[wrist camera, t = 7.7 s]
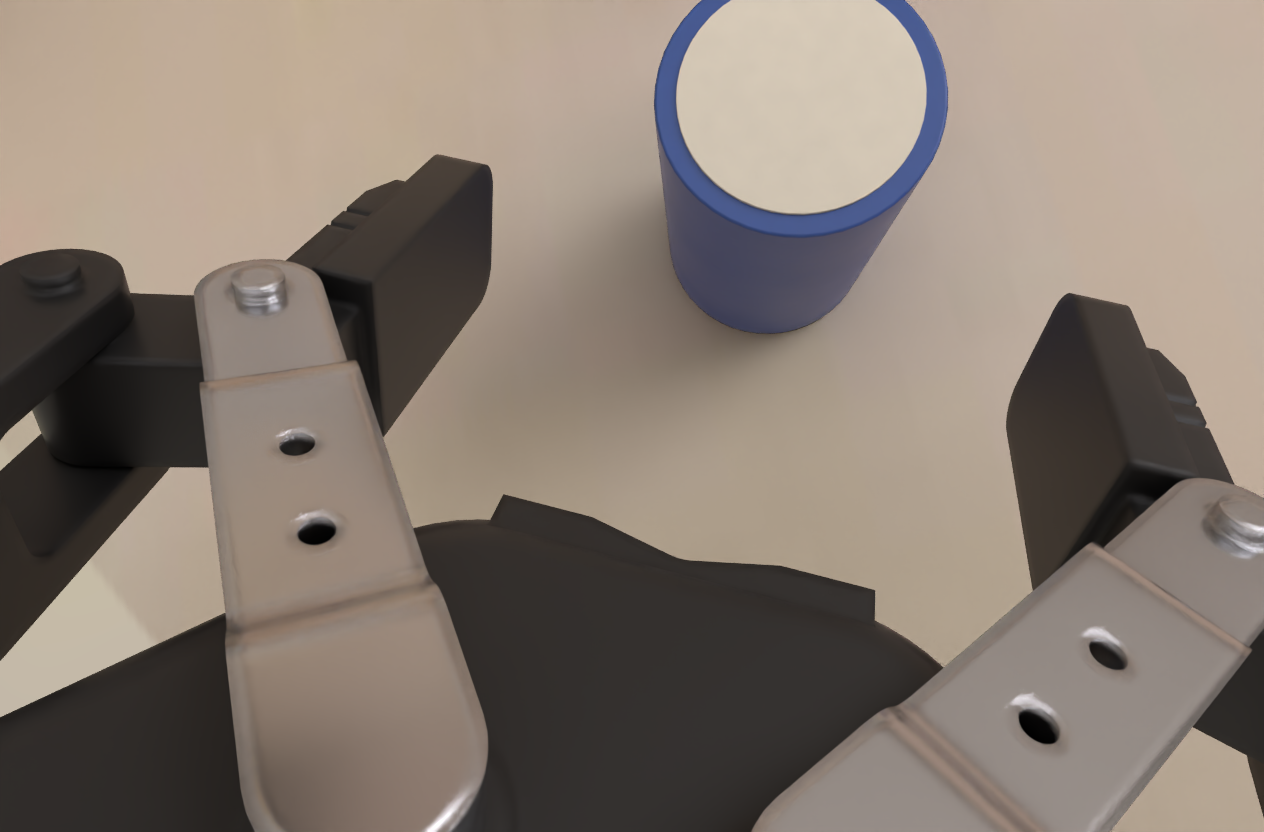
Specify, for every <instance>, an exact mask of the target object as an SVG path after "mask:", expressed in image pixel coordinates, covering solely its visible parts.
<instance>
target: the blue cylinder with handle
mask: <svg viewBox="0 0 1264 832" xmlns="http://www.w3.org/2000/svg"><path fill="white" fill-rule="evenodd" d="M654 110H655V122H656V131H657V139H658V148H659V157H660V165H661V174H662V183H663V192H664V200H665V209H666V218H667V227H668V235H669V244H670V253H671V258H672V262H673V266H674V269H675V272H676V275H677V277H678V279H679V281H680V283H681V285H682V287H683V289H684V290H685V291H686V293H687V294H688V295H689V297H690V298H691V299H692V300H693V301H694V303H695V304H696V305H697V306H698V307H699V308H700V309H702V310H703V311H704V312H705V313H707V314H708V315H709V316H711V317H712V318H714V319H716V320H717V321H719V322H721V323H723V324H725V325H727V326H730V327H732V328H735V329H739V330H742V331H747V332H753V333H767V334H771V333H782V332H787V331H791V330H795V329H798V328H801V327H804V326H807V325H809V324H811V323H813V322H815V321H816V320H818V319H820V318H821V317H823V316H824V315H826V314H827V313H829V312H830V311H831V310H832V309H833V308H834V307H835V306H837V305H838V304H839V303H840V302H841V300H842V299H843V298H844V297H845V296H846V294H847V293H848V292H849V290H850V288H851V287H852V285H853V284H854V282H855V281H856V279H857V278H858V276H859V274H860V273H861V271H862V270H863V268H864V267H865V265H866V263H867V262H868V260H869V259H870V257H871V256H872V254H873V253H874V251H875V249H876V248H877V246H878V245H879V243H880V242H881V240H882V239H883V237H884V235H885V234H886V232H887V231H888V229H889V228H890V226H891V224H892V223H893V221H894V220H895V218H896V217H897V215H898V214H899V212H900V210H901V209H902V207H903V206H904V204H905V203H906V201H907V200H908V198H909V196H910V195H911V193H912V192H913V190H914V189H915V187H916V185H917V184H918V182H919V181H920V179H921V178H922V176H923V175H924V173H925V171H926V170H927V168H928V167H929V165H930V164H931V162H932V160H933V158H934V156H935V154H936V151H937V149H938V147H939V145H940V142H941V138H942V135H943V132H944V128H945V123H946V117H947V110H948V87H947V79H946V72H945V68H944V65H943V61H942V57H941V54H940V52H939V49H938V47H937V45H936V42H935V40H934V38H933V36H932V34H931V33H930V31H929V29H928V28H927V26H926V25H925V23H924V21H923V20H922V19H921V18H920V16H919V15H918V14H917V13H916V12H915V10H914V9H913V8H912V7H911V6H910V5H909V4H908V3H907V2H906V1H905V0H702V1H700V2H699V3H698V4H697V5H696V6H695V7H694V8H693V9H692V10H691V11H690V13H689V14H688V15H687V16H686V17H685V18H684V19H683V21H682V22H681V23H680V25H679V26H678V28H677V29H676V31H675V32H674V34H673V35H672V37H671V39H670V41H669V43H668V45H667V47H666V49H665V51H664V54H663V57H662V60H661V63H660V66H659V69H658V74H657V79H656V84H655V96H654Z"/></svg>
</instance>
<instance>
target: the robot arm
mask: <svg viewBox="0 0 1264 832" xmlns="http://www.w3.org/2000/svg"><path fill="white" fill-rule="evenodd" d="M492 197H493V180H492V173H491V170H490V168H489V166H488V165H485V164H480V163H475V162H471V161H466V160H462V159H457V158H452V157H448V156H443V155H438V154H437V155H435V156H433V157H432V158H431V159H430V160H429V161H428V162H427V163H426V164H424V165H423V166H422V167H421V168H420V169H419V170H418V171H417V172H416V173H415V174H414V175H412V176H411V177H410V178H409V179H408V180H407V181H406V182H404V181H400V180H394V181H392V182H389V183H387V184H384V185H381V186H379V187H376V188H373V189H371V190H368V191H366V192H365V193H363V194H362V195H361V196H360V197H359V198H358V199H356V200H355V201H354V202H353V203H352V204H351V205H350V206H348V207H347V211H346V212H345V211H343V212H341V213H340V214H339V215H338V216H337V217H336V218H335V219H333V220H332V221H331V225H326V226H325V227H324V228H323V229H322V230H321V231H320V232H318V233H317V234H316V235H315V236H314V237H313V238H311V239H310V240H309V241H308V242H307V243H306V244H304V245H303V246H302V247H301V248H300V249H299V250H298V251H296V252H295V253H294V254H293V255H292V256H291V257H289V258H288V259H287V260H286V261H283V260H273V259H260V260H249V261H242V262H238V263H233V264H230V265H227V266H224V267H221V268H219V269H217V270H215V271H213V272H211V273H210V274H208V275H207V276H205V277H204V278H203V279H202V280H201V281H200V282H199V283H198V285H197V286H196V289H195V291H194V295H163V294H137V293H130V291H129V288H128V284H127V281H126V277H125V274H124V270H123V268H122V266H121V264H120V263H119V262H118V261H117V260H115V259H114V258H112V257H111V256H108V255H106V254H103V253H99V252H96V251H90V250H83V249H57V250H48V251H42V252H36V253H32V254H28V255H25V256H22V257H18V258H15V259H13V260H11V261H8V262H6V263H4V264H2V265H0V440H1V439H2V437H3V436H4V435H5V433H6V432H7V431H8V430H9V429H10V428H12V427H13V426H14V425H15V424H16V423H17V422H19V421H20V420H21V419H22V418H23V417H24V416H26V415H27V414H28V413H29V412H30V411H31V410H32V411H33V413H34V416H35V418H36V421H37V423H38V426H39V428H40V431H41V433H42V434H40V435H39V436H38V437H37V438H36V439H35V440H34V441H33V442H32V443H31V444H29V445H28V446H27V447H26V448H25V449H24V450H23V451H22V452H21V453H19V454H18V455H17V456H16V457H15V458H14V459H13V460H12V461H11V462H10V463H8V464H7V465H6V466H5V467H4V468H3V469H2V470H1V471H0V660H1V659H2V658H3V657H4V656H5V655H6V654H7V653H8V652H9V650H10V649H11V648H12V647H13V646H14V644H16V642H17V641H18V640H19V639H20V638H21V637H22V636H23V634H24V633H25V632H26V631H27V630H28V629H29V628H30V626H31V625H32V624H33V623H34V622H35V621H36V620H37V619H38V617H39V616H40V615H41V614H42V613H43V612H44V611H45V610H46V608H47V607H48V606H49V605H50V604H51V603H52V602H53V600H54V599H55V598H56V597H57V596H58V595H59V594H60V592H61V591H62V590H63V589H64V588H65V587H66V586H67V584H68V583H69V582H70V581H71V580H72V579H73V578H74V577H75V575H76V574H77V573H78V572H79V571H80V570H81V569H82V567H83V566H84V565H85V564H86V563H87V562H88V561H89V560H90V558H91V557H92V556H93V555H94V554H95V553H96V552H97V550H98V549H99V548H100V547H101V546H102V545H103V544H104V542H105V541H106V540H107V539H108V538H109V537H110V536H111V534H112V533H113V532H114V531H115V530H116V529H117V528H118V527H119V525H120V524H121V523H122V522H123V521H124V520H125V519H126V517H127V516H128V515H129V514H130V513H131V512H132V511H133V509H134V508H135V507H136V506H137V505H138V504H139V503H140V502H141V500H142V499H143V498H144V497H145V496H146V495H147V494H148V492H149V491H150V490H151V489H152V488H153V487H154V486H155V484H156V483H157V482H158V481H159V480H160V479H161V478H162V477H163V475H164V474H165V473H166V472H167V471H168V469H169V468H170V467H209V474H210V483H211V492H212V500H213V509H214V517H215V526H216V535H217V543H218V552H219V561H220V569H221V578H222V586H223V595H224V604H225V612H226V613H224V614H222V615H219V616H217V617H215V618H213V619H211V620H209V621H206V622H204V623H202V624H200V625H198V626H196V627H194V628H191V629H189V630H187V631H185V632H183V633H181V634H178V635H176V636H174V637H172V638H170V639H168V640H166V641H163V642H161V643H159V644H157V645H155V646H153V647H151V648H148V649H146V650H144V651H142V652H140V653H138V654H136V655H133V656H131V657H129V658H127V659H125V660H123V661H121V662H118V663H116V664H114V665H112V666H110V667H107V668H106V669H103V670H101V671H99V672H97V673H95V674H92V675H90V676H88V677H86V678H84V679H82V680H80V681H77V682H75V683H73V684H71V685H69V686H67V687H65V688H62V689H60V690H58V691H56V692H54V693H52V694H49V695H47V696H45V697H43V698H41V699H39V700H37V701H35V702H33V703H30V704H28V705H26V706H24V707H21V708H19V709H17V710H15V711H13V712H11V713H9V714H6V715H4V716H2V717H0V832H1110V831H1111V830H1112V829H1113V827H1114V826H1115V825H1116V824H1117V822H1118V821H1119V820H1120V818H1121V817H1122V816H1123V815H1124V813H1125V812H1126V811H1127V810H1128V808H1129V807H1130V806H1131V804H1132V803H1133V802H1134V801H1135V799H1136V798H1137V797H1138V796H1139V794H1140V793H1141V792H1142V791H1143V789H1144V788H1145V787H1146V785H1147V784H1148V783H1149V782H1150V780H1151V779H1152V778H1153V777H1154V775H1155V774H1156V773H1157V771H1158V770H1159V769H1160V768H1161V766H1162V765H1163V764H1164V763H1165V761H1166V760H1167V759H1168V757H1169V756H1170V755H1171V754H1172V752H1173V751H1174V750H1175V749H1176V747H1177V746H1178V745H1179V743H1180V742H1181V741H1182V740H1183V738H1184V737H1185V736H1186V735H1187V733H1188V732H1189V731H1190V729H1191V728H1192V727H1194V728H1196V729H1198V730H1199V731H1201V732H1203V733H1205V734H1207V735H1209V736H1211V737H1213V738H1215V739H1217V740H1219V741H1221V742H1222V743H1224V744H1226V745H1228V746H1230V747H1232V748H1234V749H1236V750H1238V751H1240V752H1242V753H1243V754H1245V755H1247V757H1248V763H1249V767H1250V770H1251V774H1252V777H1253V781H1254V784H1255V788H1256V792H1257V795H1258V799H1259V802H1260V806H1261V809H1262V813H1263V816H1264V498H1262V497H1260V496H1259V495H1257V494H1255V493H1253V492H1251V491H1248V490H1246V489H1244V488H1242V487H1239V486H1236V485H1234V482H1233V480H1232V478H1231V476H1230V474H1229V471H1228V469H1227V467H1226V465H1225V463H1224V460H1223V458H1222V456H1221V454H1220V452H1219V450H1218V447H1217V445H1216V443H1215V441H1214V439H1213V436H1212V434H1211V432H1210V430H1209V429H1208V428H1205V425H1206V421H1205V419H1204V417H1203V415H1202V412H1201V410H1200V408H1199V407H1196V403H1197V401H1196V399H1195V397H1194V395H1193V393H1192V390H1191V388H1190V386H1189V384H1188V382H1187V380H1186V377H1185V376H1184V375H1183V374H1182V373H1181V372H1180V371H1179V370H1178V369H1177V368H1176V367H1175V366H1174V365H1173V364H1172V363H1171V362H1170V361H1169V360H1168V359H1167V358H1166V357H1165V356H1164V355H1163V354H1162V353H1161V352H1160V351H1159V350H1155V349H1150V348H1147V347H1146V345H1145V343H1144V340H1143V338H1142V335H1141V333H1140V331H1139V328H1138V326H1137V323H1136V321H1135V319H1134V316H1133V314H1132V311H1131V309H1130V308H1129V307H1128V306H1126V305H1122V304H1118V303H1113V302H1108V301H1104V300H1099V299H1095V298H1090V297H1085V296H1081V295H1076V294H1072V293H1068V294H1066V295H1064V296H1063V297H1062V298H1061V300H1060V301H1059V302H1058V304H1057V305H1056V307H1055V309H1054V310H1053V312H1052V314H1051V316H1050V318H1049V320H1048V322H1047V324H1046V326H1045V328H1044V330H1043V332H1042V334H1041V336H1040V338H1039V340H1038V342H1037V344H1036V346H1035V348H1034V350H1033V352H1032V354H1031V356H1030V358H1029V360H1028V362H1027V364H1026V366H1025V368H1024V370H1023V372H1022V374H1021V376H1020V378H1019V380H1018V382H1017V384H1016V386H1015V388H1014V391H1013V393H1012V396H1011V399H1010V403H1009V407H1008V412H1007V420H1006V430H1007V437H1008V443H1009V449H1010V455H1011V461H1012V467H1013V473H1014V479H1015V485H1016V491H1017V497H1018V504H1019V510H1020V516H1021V522H1022V528H1023V534H1024V540H1025V546H1026V552H1027V558H1028V564H1029V570H1030V576H1031V583H1032V589H1033V592H1031V593H1030V594H1029V595H1028V596H1027V597H1026V598H1024V599H1023V600H1022V601H1021V602H1020V603H1019V604H1017V605H1016V606H1015V607H1014V608H1013V609H1012V610H1010V611H1009V612H1008V613H1007V614H1006V615H1005V616H1003V617H1002V618H1001V619H1000V620H999V621H998V622H997V623H995V624H994V625H993V626H992V627H991V628H990V629H988V630H987V631H986V632H985V633H984V634H983V635H981V636H980V637H979V638H978V639H977V640H976V641H974V642H973V643H972V644H971V645H970V646H969V647H967V648H966V649H965V650H964V651H963V652H962V653H960V654H959V655H958V656H957V657H956V658H955V659H953V660H952V661H951V662H950V663H949V664H948V665H946V666H945V667H944V668H943V667H942V666H941V665H940V664H939V663H938V662H936V661H935V660H934V659H933V658H932V657H931V656H930V655H928V654H927V653H926V652H925V651H923V650H922V649H921V648H919V647H918V646H916V645H915V644H914V643H912V642H911V641H910V640H908V639H907V638H905V637H903V636H902V635H900V634H898V633H897V632H895V631H893V630H892V629H890V628H888V627H887V626H885V625H883V624H881V623H879V622H877V621H875V590H872V589H868V588H864V587H861V586H857V585H853V584H849V583H845V582H841V581H837V580H833V579H830V578H826V577H822V576H818V575H814V574H810V573H806V572H802V571H799V570H795V569H791V568H787V567H783V566H774V565H757V564H739V563H722V562H705V561H689V560H683V559H679V558H676V557H673V556H671V555H669V554H667V553H665V552H663V551H661V550H658V549H656V548H654V547H652V546H650V545H648V544H646V543H644V542H642V541H640V540H638V539H636V538H634V537H632V536H630V535H628V534H625V533H623V532H621V531H619V530H617V529H615V528H613V527H611V526H609V525H607V524H605V523H603V522H601V521H599V520H597V519H595V518H593V517H589V516H585V515H582V514H578V513H574V512H570V511H566V510H562V509H558V508H555V507H551V506H547V505H543V504H539V503H535V502H531V501H527V500H524V499H520V498H516V497H512V496H508V495H504V494H503V496H502V498H501V500H500V502H499V504H498V506H497V508H496V510H495V512H494V514H493V516H492V518H491V520H478V519H477V520H456V521H448V522H441V523H434V524H430V525H426V526H422V527H417V528H413V527H412V524H411V521H410V518H409V515H408V512H407V509H406V506H405V503H404V500H403V497H402V494H401V491H400V488H399V485H398V482H397V479H396V476H395V473H394V470H393V467H392V463H391V460H390V457H389V454H388V451H387V448H386V445H385V442H384V439H383V437H384V436H385V434H386V433H387V432H388V430H389V429H390V428H391V426H392V425H393V423H394V422H395V421H396V419H397V418H398V416H399V415H400V414H401V412H402V411H403V410H404V408H405V407H406V405H407V404H408V403H409V401H410V400H411V399H412V397H413V396H414V394H415V393H416V392H417V390H418V389H419V388H420V386H421V385H422V383H423V382H424V381H425V379H426V378H427V377H428V375H429V374H430V372H431V371H432V370H433V368H434V367H435V365H436V364H437V363H438V361H439V360H440V359H441V357H442V356H443V354H444V353H445V352H446V350H447V349H448V348H449V346H450V345H451V343H452V342H453V341H454V339H455V338H456V337H457V335H458V334H459V332H460V331H461V330H462V328H463V327H464V325H465V324H466V323H467V321H468V320H469V319H470V317H471V316H472V314H473V313H474V312H475V310H476V309H477V308H478V306H479V305H480V303H481V301H482V299H483V297H484V295H485V292H486V289H487V285H488V281H489V277H490V270H491V246H492Z"/></svg>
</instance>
